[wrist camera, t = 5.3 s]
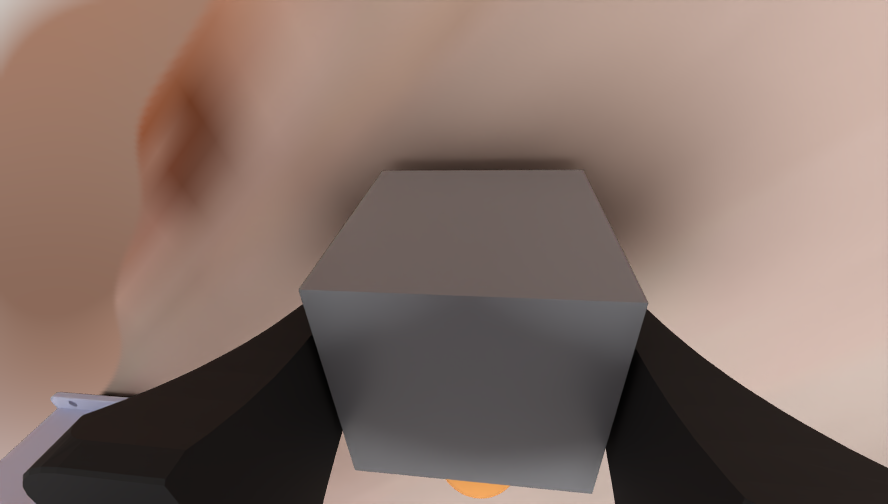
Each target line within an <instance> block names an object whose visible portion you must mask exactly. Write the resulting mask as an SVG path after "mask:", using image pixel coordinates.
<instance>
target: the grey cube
mask: <svg viewBox="0 0 888 504" xmlns="http://www.w3.org/2000/svg"><path fill="white" fill-rule="evenodd" d="M299 293H300V296H301V299H302V302H303V306H304V309H305V312H306V315H307V318H308V321H309V325H310V328H311V331H312V334H313V337H314V341H315V344H316V347H317V350H318V353H319V356H320V360H321V363H322V366H323V369H324V372H325V376H326V379H327V382H328V385H329V388H330V391H331V395H332V398H333V401H334V404H335V407H336V411H337V414H338V417H339V420H340V423H341V426H342V430H343V433H344V436H345V439H346V442H347V446H348V449H349V452H350V455H351V458H352V461H353V465H354V468H355V470H359V471H369V472H379V473H389V474H399V475H409V476H419V477H429V478H439V479H449V480H459V481H469V482H479V483H489V484H499V485H509V486H519V487H529V488H539V489H549V490H559V491H569V492H579V493H589V494H592V492H593V489H594V485H595V482H596V479H597V475H598V472H599V468H600V465H601V462H602V458H603V455H604V451H605V448H606V445H607V441H608V438H609V435H610V431H611V428H612V424H613V421H614V418H615V414H616V411H617V407H618V404H619V401H620V397H621V394H622V391H623V387H624V384H625V380H626V377H627V374H628V370H629V367H630V363H631V360H632V357H633V353H634V350H635V347H636V343H637V340H638V336H639V333H640V330H641V326H642V323H643V319H644V316H645V313H646V309H647V306H648V301H647V299H646V297H645V295H644V293H643V291H642V289H641V287H640V285H639V283H638V281H637V279H636V277H635V275H634V273H633V270H632V268H631V266H630V264H629V262H628V260H627V258H626V256H625V254H624V252H623V250H622V248H621V246H620V244H619V242H618V240H617V238H616V236H615V234H614V232H613V230H612V228H611V226H610V223H609V221H608V219H607V217H606V215H605V213H604V211H603V209H602V207H601V205H600V203H599V201H598V199H597V197H596V195H595V193H594V191H593V189H592V187H591V185H590V183H589V181H588V179H587V177H586V174H585V172H584V170H402V171H382V172H381V173H380V175H379V176H378V178H377V179H376V181H375V182H374V183H373V185H372V186H371V188H370V189H369V190H368V192H367V193H366V195H365V196H364V198H363V199H362V200H361V202H360V203H359V205H358V206H357V207H356V209H355V210H354V212H353V213H352V215H351V216H350V217H349V219H348V220H347V222H346V223H345V224H344V226H343V227H342V229H341V230H340V231H339V233H338V234H337V236H336V237H335V239H334V240H333V241H332V243H331V244H330V246H329V247H328V248H327V250H326V251H325V253H324V254H323V256H322V257H321V258H320V260H319V261H318V263H317V264H316V265H315V267H314V268H313V270H312V271H311V273H310V274H309V275H308V277H307V278H306V280H305V281H304V282H303V284H302V285H301V287H300V288H299Z"/></svg>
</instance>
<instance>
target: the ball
mask: <svg viewBox="0 0 888 504" xmlns="http://www.w3.org/2000/svg"><path fill="white" fill-rule="evenodd" d="M446 480H447V482H448V483H449V484H450V485H451V486H452V487H453V488H454V489H455V490H457V491H458V492H460V493H462V494H464V495H466V496H469V497H473V498H490V497H493V496H496V495H498V494H500V493H502V492H503V491H505V490H506V489H507V488H508V487H509V485H499V484H489V483H479V482H469V481H459V480H449V479H446Z"/></svg>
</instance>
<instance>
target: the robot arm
mask: <svg viewBox="0 0 888 504" xmlns="http://www.w3.org/2000/svg"><path fill="white" fill-rule="evenodd" d="M51 401H52V403H53V404H54V405H55V406H56V407H57V409H56V410H55V411H54V412H53V413H52V414H51V415H50V416H48V417H47V418H46V419H45V420H44V421H43V422H42V423H41V424H40V425H39V426H38V427H36V429H34V430H33V431H32V432H31V433H30V434H29V435H28V436H27V437H26V438H24V439H23V440H22V441H21V442H20V443H19V444H18V445H17V446H16V447H15V448H13V449H12V450H11V451H10V452H9V453H8V454H7V455H6V456H5V457H4V458H3V459H1V460H0V504H323V500H324V496H325V492H326V489H327V485H328V481H329V477H330V474H331V470H332V466H333V462H334V459H335V455H336V452H337V448H338V445H339V441H340V438H341V434H342V431H343V430H342V426H341V423H340V420H339V417H338V414H337V411H336V407H335V404H334V401H333V398H332V395H331V391H330V388H329V385H328V382H327V379H326V376H325V372H324V369H323V366H322V363H321V360H320V356H319V353H318V350H317V347H316V344H315V341H314V337H313V334H312V331H311V328H310V325H309V321H308V318H307V315H306V312H305V309H304V306H303V305H301V306H300V307H298V308H297V309H296V310H294V311H293V312H291V313H290V314H289V315H287V316H286V317H285V318H283V319H282V320H280V321H279V322H278V323H276V324H275V325H273V326H272V327H270V328H269V329H267V330H266V331H264V332H262V333H261V334H259V335H258V336H256V337H254V338H253V339H251V340H249V341H248V342H246V343H244V344H243V345H241V346H239V347H237V348H236V349H234V350H232V351H230V352H228V353H226V354H224V355H222V356H221V357H219V358H217V359H215V360H213V361H211V362H209V363H207V364H205V365H203V366H201V367H199V368H197V369H195V370H193V371H191V372H189V373H187V374H185V375H182V376H180V377H178V378H176V379H174V380H171V381H169V382H167V383H164V384H162V385H160V386H158V387H155V388H153V389H150V390H148V391H146V392H143V393H141V394H138V395H135V396H133V397H130V398H128V397H116V396H103V395H91V394H78V393H66V392H57V393H56V394H54V395H53V396H52V397H51ZM606 452H607V458H608V464H609V470H610V475H611V481H612V487H613V493H614V500H615V504H888V468H887V467H885V466H883V465H881V464H879V463H877V462H875V461H873V460H871V459H869V458H867V457H865V456H863V455H861V454H859V453H857V452H855V451H853V450H851V449H849V448H847V447H845V446H843V445H841V444H840V443H838V442H836V441H834V440H832V439H831V438H829V437H827V436H825V435H823V434H822V433H820V432H818V431H816V430H814V429H813V428H811V427H809V426H807V425H805V424H804V423H802V422H800V421H799V420H797V419H795V418H794V417H792V416H790V415H788V414H787V413H785V412H783V411H782V410H780V409H778V408H777V407H775V406H774V405H772V404H770V403H769V402H767V401H766V400H764V399H763V398H761V397H759V396H758V395H756V394H755V393H753V392H752V391H750V390H748V389H747V388H745V387H744V386H742V385H741V384H739V383H738V382H737V381H735V380H734V379H732V378H731V377H729V376H728V375H726V374H725V373H724V372H722V371H721V370H720V369H718V368H717V367H716V366H714V365H713V364H711V363H710V362H709V361H707V360H706V359H705V358H703V357H702V356H701V355H699V354H698V353H697V352H696V351H694V350H693V349H692V348H691V347H689V346H688V345H687V344H686V343H685V342H683V341H682V340H681V339H680V338H679V337H677V336H676V335H675V334H674V333H673V332H671V331H670V330H669V329H668V328H667V327H666V326H665V325H664V324H662V323H661V322H660V321H659V320H658V319H657V318H656V317H655V316H654V315H653V314H652V313H651V312H650V311H648V310H647V309H646V313H645V316H644V319H643V323H642V326H641V330H640V333H639V336H638V340H637V343H636V347H635V350H634V353H633V357H632V360H631V363H630V367H629V370H628V374H627V377H626V380H625V384H624V387H623V391H622V394H621V397H620V401H619V404H618V407H617V411H616V414H615V418H614V421H613V424H612V428H611V431H610V435H609V438H608V441H607V445H606Z"/></svg>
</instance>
